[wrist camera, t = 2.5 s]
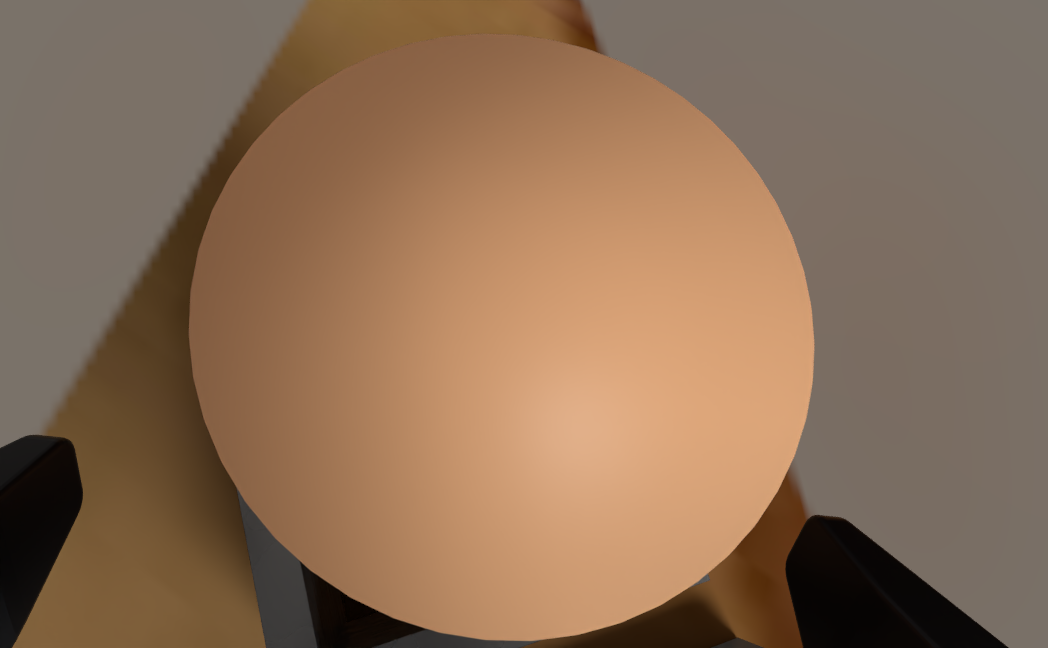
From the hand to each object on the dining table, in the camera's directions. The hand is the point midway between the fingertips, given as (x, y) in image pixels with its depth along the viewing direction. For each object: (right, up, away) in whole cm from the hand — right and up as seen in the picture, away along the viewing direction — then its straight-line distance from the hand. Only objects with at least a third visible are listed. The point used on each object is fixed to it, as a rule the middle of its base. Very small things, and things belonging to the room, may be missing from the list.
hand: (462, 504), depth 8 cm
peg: (-1, -1, +9) cm, 9 cm away
